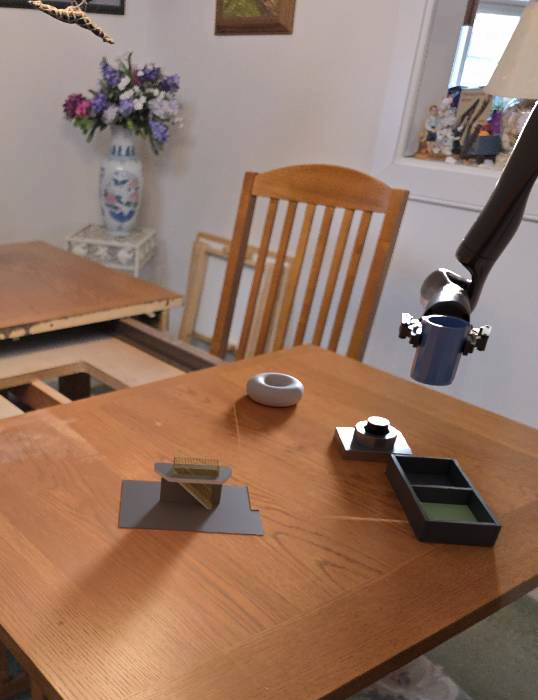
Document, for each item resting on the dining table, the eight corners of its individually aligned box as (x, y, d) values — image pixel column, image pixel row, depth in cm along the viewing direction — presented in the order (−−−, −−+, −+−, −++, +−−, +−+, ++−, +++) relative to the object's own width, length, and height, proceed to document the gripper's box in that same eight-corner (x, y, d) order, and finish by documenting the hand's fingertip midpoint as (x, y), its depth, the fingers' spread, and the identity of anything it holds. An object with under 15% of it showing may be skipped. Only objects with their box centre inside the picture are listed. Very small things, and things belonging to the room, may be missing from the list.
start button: (384, 427, 107) (386, 417, 106) (389, 437, 105) (392, 426, 104) (363, 426, 107) (365, 415, 106) (367, 435, 105) (370, 424, 104)
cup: (445, 372, 115) (462, 316, 110) (458, 387, 109) (477, 329, 104) (404, 369, 115) (419, 314, 110) (416, 384, 109) (432, 327, 104)
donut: (249, 384, 128) (240, 404, 120) (252, 366, 126) (242, 385, 118) (304, 393, 126) (299, 413, 118) (308, 374, 124) (302, 394, 116)
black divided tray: (448, 477, 102) (455, 457, 100) (493, 547, 87) (502, 526, 85) (384, 472, 102) (390, 453, 100) (418, 541, 87) (425, 520, 86)
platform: (264, 534, 87) (272, 488, 83) (119, 526, 87) (120, 480, 83) (253, 486, 97) (260, 443, 93) (122, 479, 97) (124, 436, 93)
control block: (397, 440, 111) (403, 420, 109) (410, 464, 104) (417, 443, 102) (333, 436, 111) (338, 416, 109) (343, 460, 105) (348, 439, 103)
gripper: (407, 288, 120) (398, 313, 107) (498, 300, 116) (500, 328, 103) (396, 332, 124) (386, 361, 111) (484, 345, 120) (484, 377, 107)
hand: (441, 345), depth 107 cm, fingers closed on cup, 6 cm apart
